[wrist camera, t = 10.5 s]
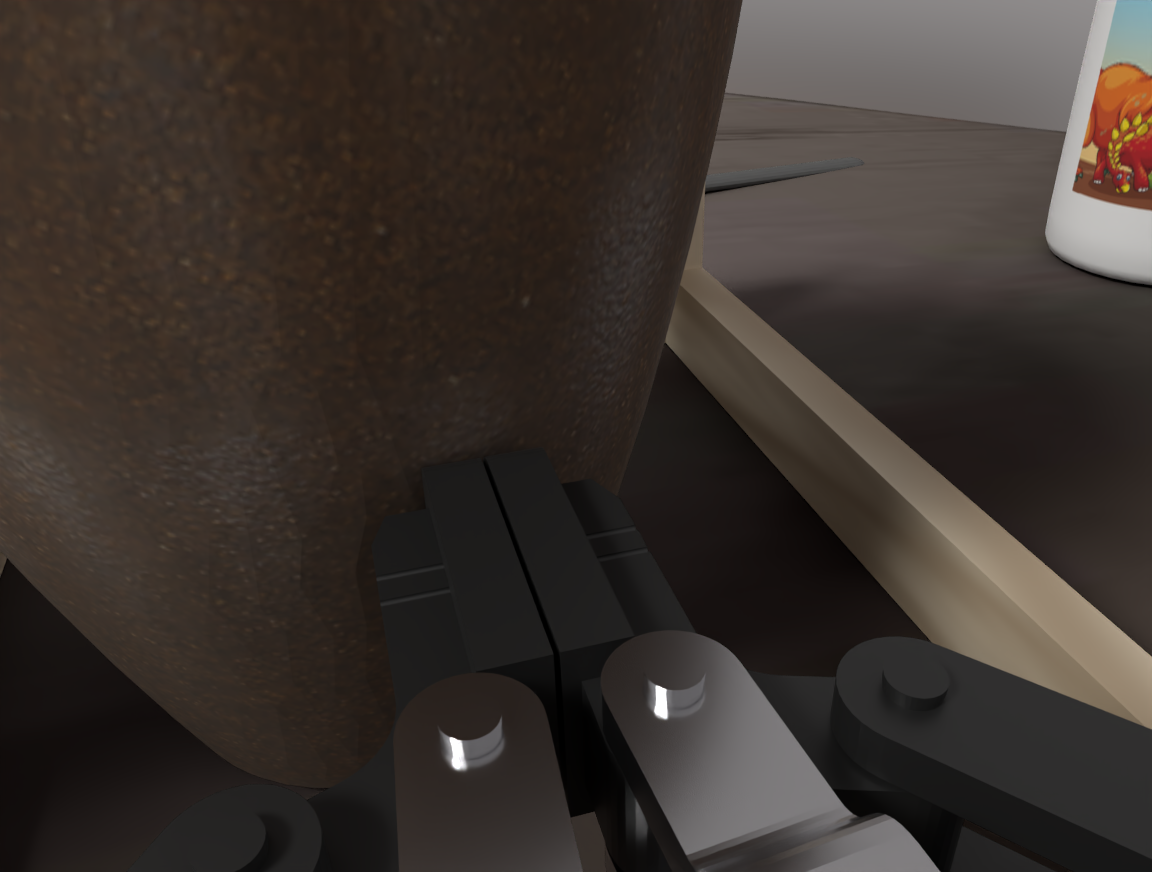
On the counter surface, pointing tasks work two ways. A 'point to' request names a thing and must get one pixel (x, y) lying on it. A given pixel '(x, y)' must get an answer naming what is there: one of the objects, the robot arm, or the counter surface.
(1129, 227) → the milk bottle
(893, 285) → the counter surface
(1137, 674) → the wooden frame
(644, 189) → the plant pot
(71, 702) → the counter surface
